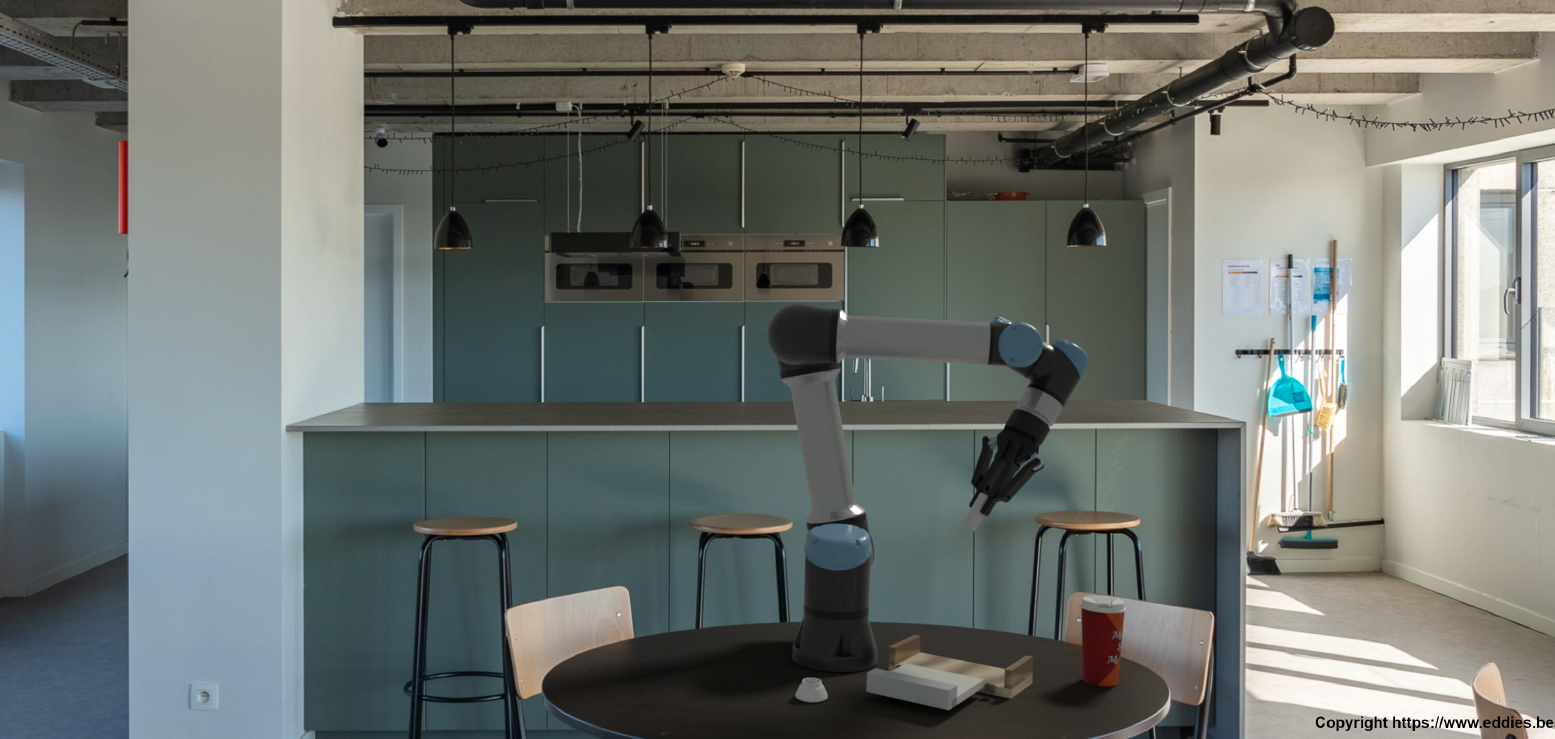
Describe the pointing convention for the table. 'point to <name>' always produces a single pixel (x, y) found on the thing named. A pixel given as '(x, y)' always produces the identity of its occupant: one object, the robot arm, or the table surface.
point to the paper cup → (1102, 639)
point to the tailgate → (923, 685)
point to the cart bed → (966, 668)
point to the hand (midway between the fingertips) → (968, 527)
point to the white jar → (811, 691)
